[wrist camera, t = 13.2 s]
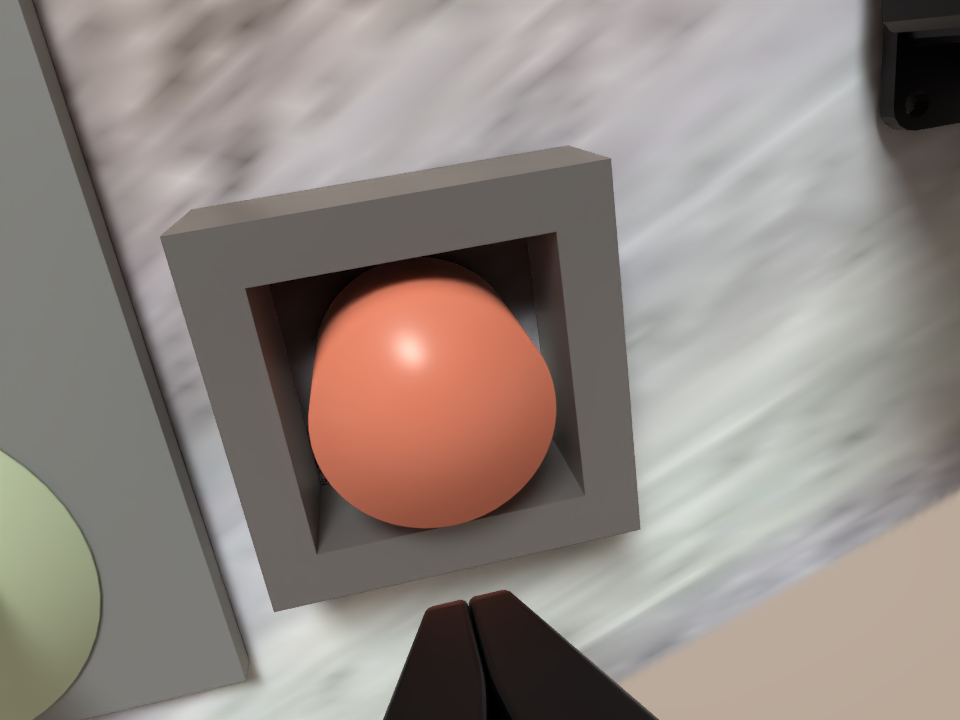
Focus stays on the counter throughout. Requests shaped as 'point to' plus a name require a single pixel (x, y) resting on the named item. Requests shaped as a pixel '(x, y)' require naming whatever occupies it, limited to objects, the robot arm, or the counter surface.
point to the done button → (427, 396)
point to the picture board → (86, 445)
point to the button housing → (386, 238)
